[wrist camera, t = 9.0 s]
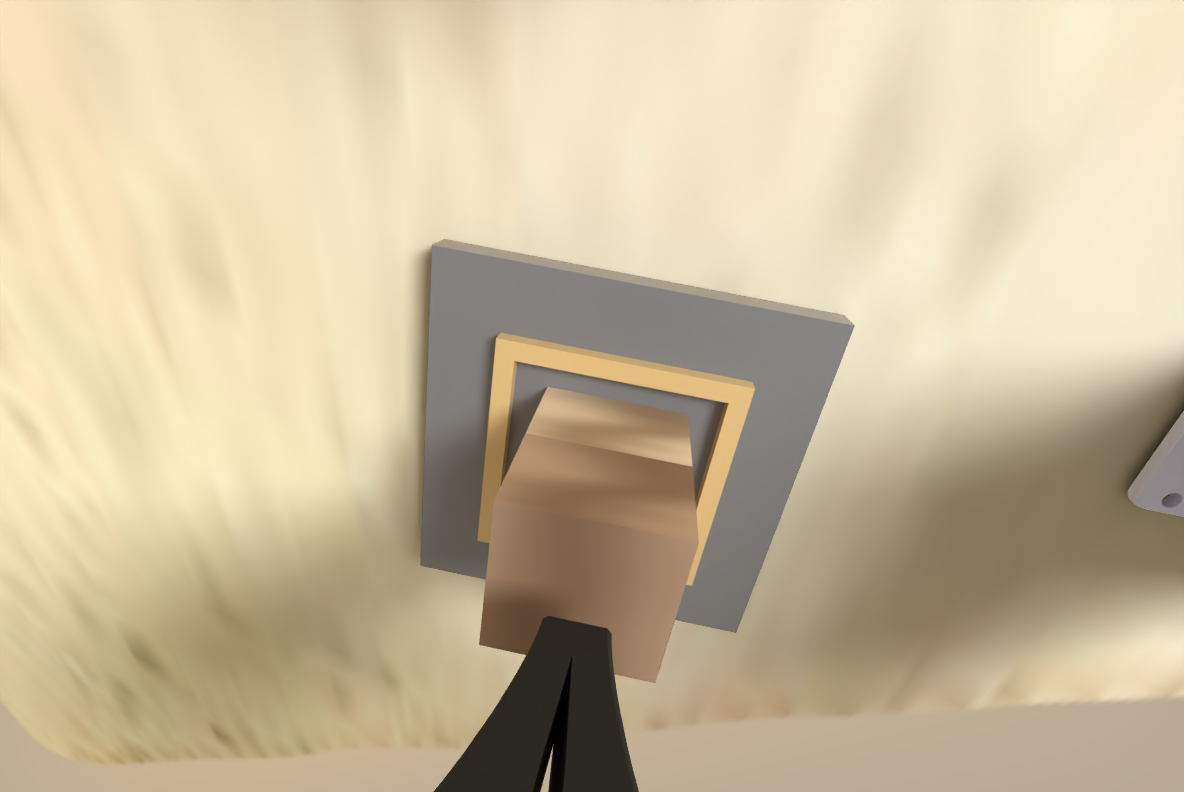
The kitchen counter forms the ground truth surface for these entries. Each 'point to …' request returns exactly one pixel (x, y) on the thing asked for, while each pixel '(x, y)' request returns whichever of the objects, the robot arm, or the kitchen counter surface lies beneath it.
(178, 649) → the kitchen counter surface
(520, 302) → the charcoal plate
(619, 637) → the tan wooden block
